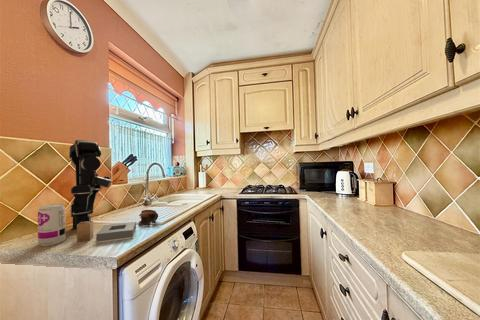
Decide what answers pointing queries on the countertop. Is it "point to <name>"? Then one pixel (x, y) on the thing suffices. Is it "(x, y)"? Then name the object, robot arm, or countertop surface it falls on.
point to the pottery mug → (148, 217)
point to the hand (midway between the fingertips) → (88, 208)
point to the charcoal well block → (116, 232)
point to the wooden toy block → (84, 231)
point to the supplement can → (51, 224)
